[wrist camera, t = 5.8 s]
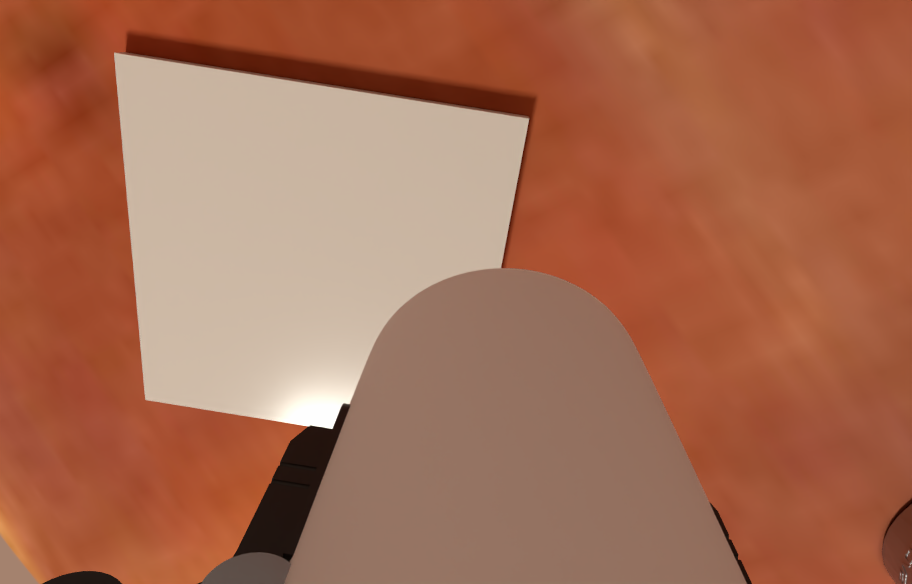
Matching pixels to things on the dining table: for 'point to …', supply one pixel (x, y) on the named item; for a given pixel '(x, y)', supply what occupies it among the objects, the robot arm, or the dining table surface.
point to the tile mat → (294, 226)
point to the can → (509, 452)
